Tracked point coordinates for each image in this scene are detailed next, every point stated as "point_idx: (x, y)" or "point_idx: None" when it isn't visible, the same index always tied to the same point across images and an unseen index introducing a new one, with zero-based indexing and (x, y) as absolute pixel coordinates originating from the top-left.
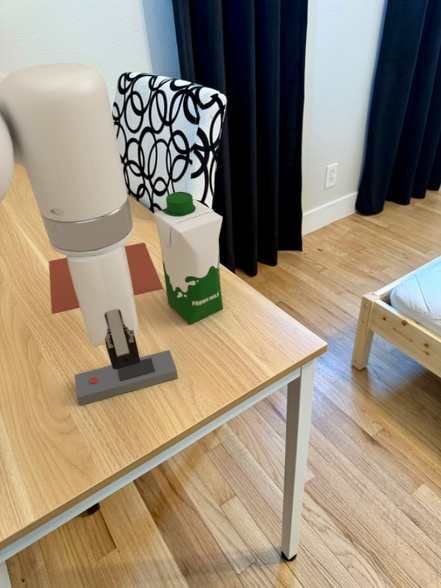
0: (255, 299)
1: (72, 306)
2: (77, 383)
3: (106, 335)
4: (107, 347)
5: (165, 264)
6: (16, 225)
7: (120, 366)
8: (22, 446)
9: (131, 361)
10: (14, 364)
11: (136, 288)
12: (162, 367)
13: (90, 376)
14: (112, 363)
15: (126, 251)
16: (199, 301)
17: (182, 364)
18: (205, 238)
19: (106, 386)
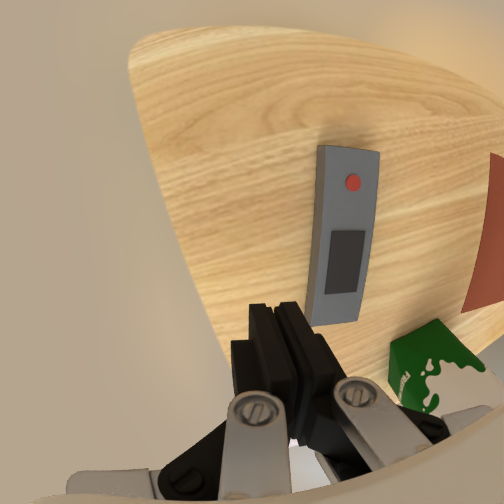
0: None
1: (492, 183)
2: (358, 152)
3: (221, 488)
4: (268, 373)
5: (477, 375)
6: None
7: (249, 326)
8: (265, 48)
9: (232, 374)
10: (430, 73)
11: (479, 278)
12: (327, 306)
13: (364, 179)
14: (253, 319)
15: None
16: (404, 383)
17: (328, 325)
18: None
19: (330, 203)
